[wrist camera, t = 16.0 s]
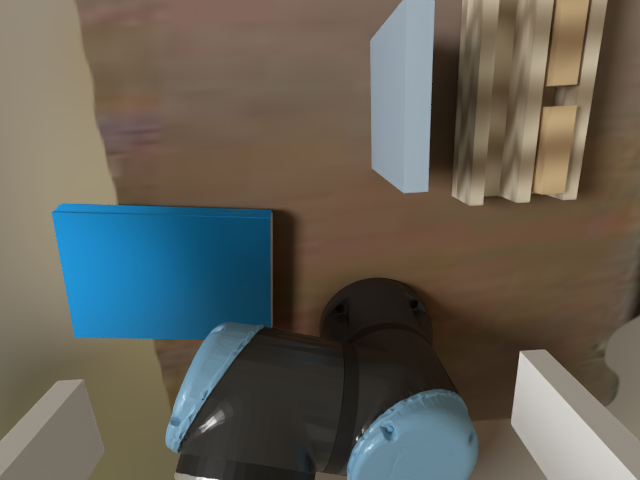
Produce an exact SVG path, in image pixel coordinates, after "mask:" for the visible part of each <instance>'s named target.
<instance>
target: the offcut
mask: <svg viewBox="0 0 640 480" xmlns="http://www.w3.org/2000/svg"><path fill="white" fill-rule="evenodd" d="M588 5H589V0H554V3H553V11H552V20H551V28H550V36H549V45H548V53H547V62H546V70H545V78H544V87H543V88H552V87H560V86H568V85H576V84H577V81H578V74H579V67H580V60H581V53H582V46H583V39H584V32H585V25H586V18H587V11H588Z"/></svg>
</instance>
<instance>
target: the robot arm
mask: <svg viewBox="0 0 640 480" xmlns="http://www.w3.org/2000/svg"><path fill="white" fill-rule="evenodd" d="M511 425H512V426H513V428H514V429H515V431H516V433H517V434H518V436H519V437H520V439H521V440H522V441H523V443H524V445H525V446H526V448H527V449H528V451H529V452H530V454H531V455H532V457H533V458H534V460H535V461H536V462H537V464H538V466H539V467H540V469H541V470H542V472H543V473H544V475H545V476H546V477H547V479H548V480H640V442H639V440H637V438H635V436H633V435H632V434H631V433H630V432H629V431H628V430H627V429H626V428H625V427H624V426H623V425H622V424H621V423H620V422H619V421H618V420H617V419H616V418H615V417H614V416H613V415H612V414H611V413H610V412H609V411H608V410H607V409H606V408H605V407H604V406H603V405H602V404H601V403H600V402H599V401H598V400H597V399H596V398H595V397H594V396H592V395H591V394H590V393H589V392H588V391H587V390H586V389H585V388H584V387H583V386H582V385H581V384H580V383H579V382H578V381H577V380H576V379H575V378H574V377H573V376H572V375H571V374H570V373H569V372H568V371H567V370H566V369H565V368H564V367H563V366H562V365H561V364H560V363H559V362H558V361H557V360H556V359H555V358H553V357H552V356H551V355H550V354H549V353H548V352H547V351H546V350H545V349H543V350H527V351H520V355H519V363H518V371H517V379H516V386H515V394H514V402H513V410H512V418H511ZM166 445H167V447H168V448H170V449H172V451H173V452H174V453H179V452H180V451H181V454H180V458H179V461H178V465H177V469H176V472H175V476H174V477H175V479H176V480H315V474H316V472H323V473H329V474H336V475H342V476H347V480H468V479H469V478H470V476H471V474H472V472H473V470H474V468H475V465H476V462H477V458H478V450H479V447H478V437H477V434H476V430H475V428H474V426H473V424H472V421H471V419H470V417H469V415H468V410H467V406H466V404H465V403H464V400H463V399H462V398H461V396H460V395H459V393H458V391H457V390H456V388H455V386H454V384H453V383H452V381H451V379H450V377H449V376H448V374H447V372H446V370H445V369H444V367H443V365H442V364H441V362H440V360H439V358H438V357H437V355H436V353H435V351H434V350H433V348H432V322H431V319H430V315H429V313H428V311H427V309H426V307H425V305H424V304H423V302H422V301H421V299H420V298H419V296H418V295H417V294H416V293H415V292H414V291H413V290H412V289H410V288H409V287H407V286H406V285H404V284H402V283H400V282H397V281H394V280H391V279H385V278H369V279H364V280H360V281H357V282H354V283H352V284H350V285H348V286H346V287H344V288H343V289H341V290H340V291H339V292H338V293H336V294H335V295H334V296H333V297H332V299H331V300H330V301H329V302H328V304H327V305H326V307H325V309H324V311H323V314H322V317H321V321H320V337H315V336H310V335H305V334H299V333H294V332H289V331H283V330H279V329H274V328H269V327H267V326H266V325H263V324H260V325H250V324H242V323H235V322H226V323H223V324H220V325H218V326H217V327H216V328H214V329H213V330H212V331H211V332H210V333H209V335H208V336H207V337H206V339H205V340H204V342H203V343H202V345H201V346H200V348H199V350H198V352H197V354H196V356H195V357H194V359H193V361H192V363H191V365H190V368H189V370H188V372H187V374H186V376H185V379H184V381H183V383H182V386H181V388H180V391H179V393H178V396H177V399H176V401H175V404H174V407H173V414H172V416H171V419H170V422H169V424H168V427H167V431H166ZM104 452H105V451H104V448H103V444H102V441H101V437H100V434H99V430H98V427H97V423H96V420H95V417H94V414H93V410H92V407H91V403H90V400H89V396H88V393H87V390H86V386H85V383H84V380H83V379H81V380H66V381H57V382H56V383H55V384H54V385H53V386H52V387H51V388H50V390H49V391H48V392H47V393H46V394H45V395H44V396H43V397H42V398H41V399H40V400H39V401H38V402H37V403H36V405H34V406H33V407H32V408H31V410H30V411H29V412H28V413H27V414H26V415H25V416H24V417H23V418H22V419H21V420H20V421H19V422H18V423H17V424H16V425H15V426H14V427H13V428H12V429H11V431H10V432H9V433H8V434H7V435H6V436H5V437H4V438H3V439H2V440H1V441H0V480H87V479H88V478H89V476H90V474H91V473H92V471H93V470H94V468H95V466H96V465H97V463H98V461H99V460H100V458H101V456H102V455H103V453H104Z"/></svg>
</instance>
